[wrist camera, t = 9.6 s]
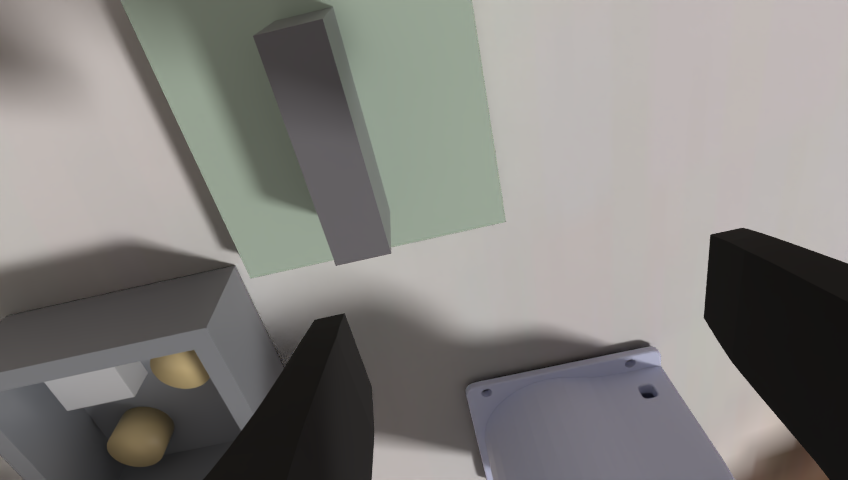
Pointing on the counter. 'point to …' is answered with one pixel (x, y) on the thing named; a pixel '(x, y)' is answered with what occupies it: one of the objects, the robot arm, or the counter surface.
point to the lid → (329, 121)
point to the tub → (134, 381)
